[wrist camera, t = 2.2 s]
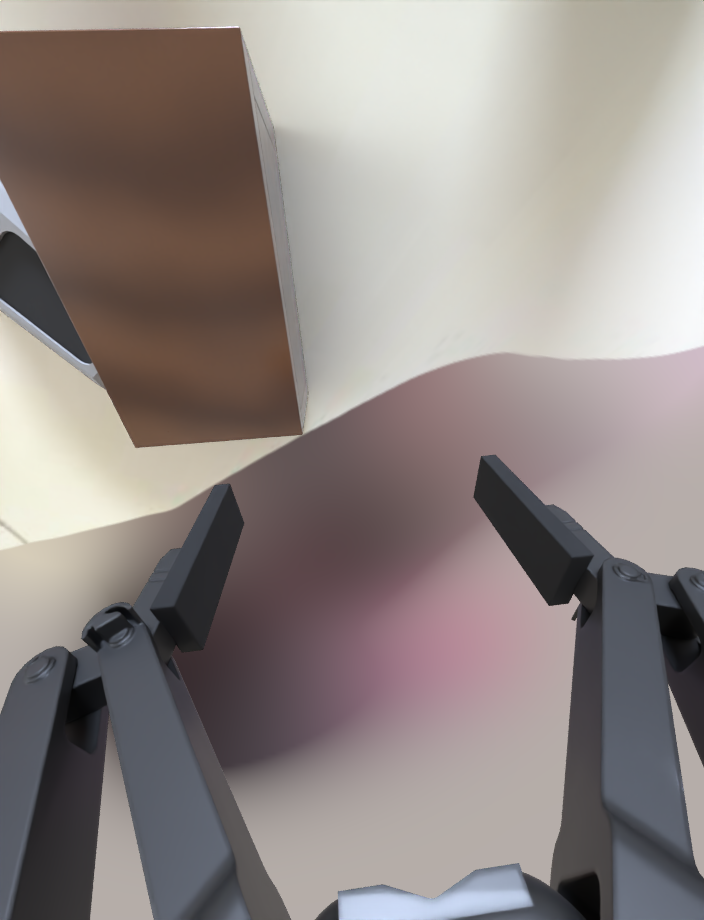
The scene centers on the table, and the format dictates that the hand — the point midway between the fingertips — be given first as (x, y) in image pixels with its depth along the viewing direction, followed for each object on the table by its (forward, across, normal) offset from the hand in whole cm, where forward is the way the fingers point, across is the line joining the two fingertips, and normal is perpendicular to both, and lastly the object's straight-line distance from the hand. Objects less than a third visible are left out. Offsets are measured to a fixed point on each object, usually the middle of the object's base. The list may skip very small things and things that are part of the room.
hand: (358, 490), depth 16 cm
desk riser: (+24, -11, +10) cm, 28 cm away
